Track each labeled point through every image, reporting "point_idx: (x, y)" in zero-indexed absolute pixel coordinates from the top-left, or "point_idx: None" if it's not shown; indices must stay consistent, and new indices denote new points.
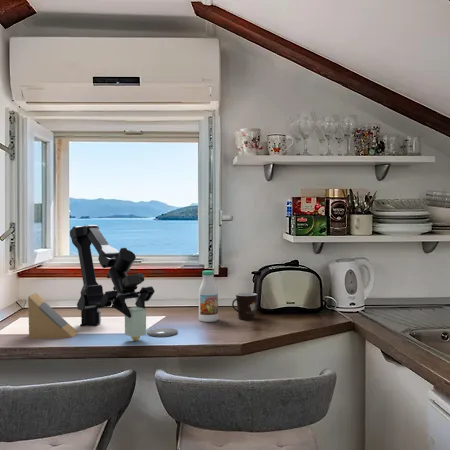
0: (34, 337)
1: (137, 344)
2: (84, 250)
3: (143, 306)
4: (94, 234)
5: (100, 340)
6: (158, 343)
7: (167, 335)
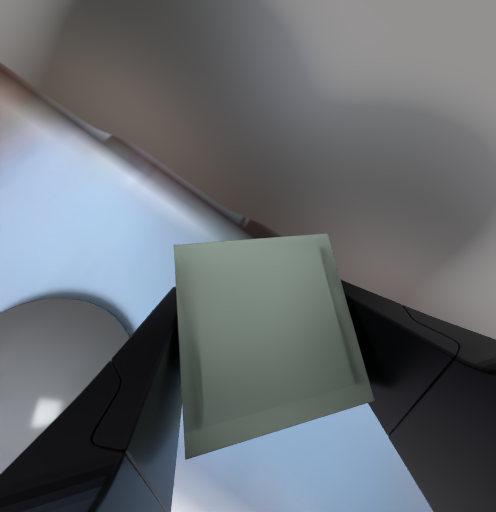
0: None
1: None
2: None
3: (152, 335)
4: None
5: None
6: (179, 225)
7: (72, 299)
